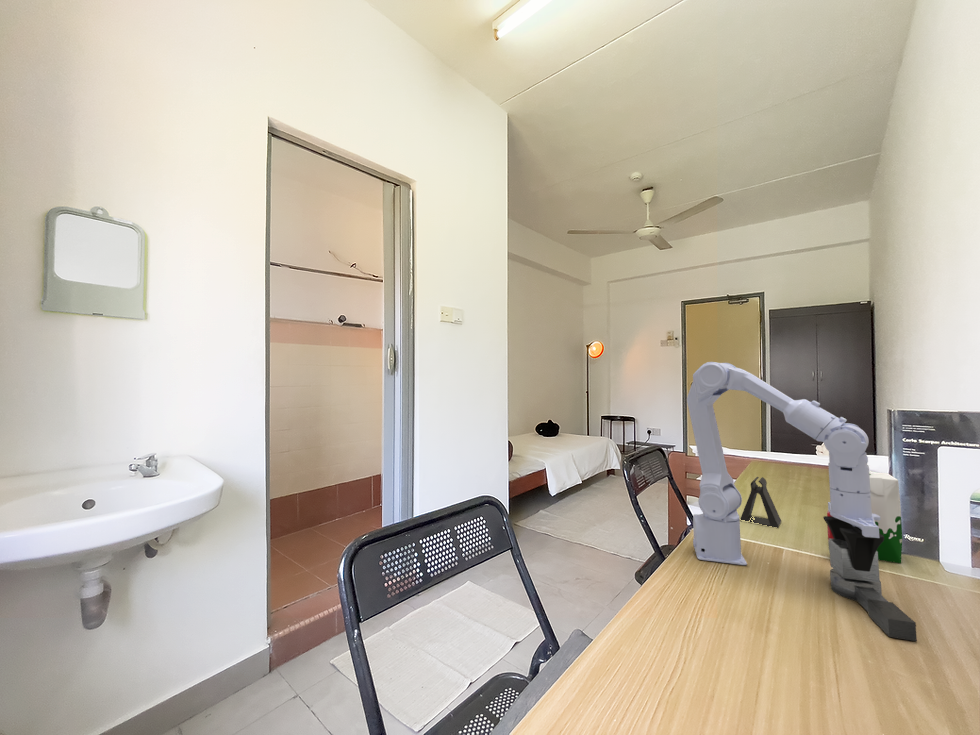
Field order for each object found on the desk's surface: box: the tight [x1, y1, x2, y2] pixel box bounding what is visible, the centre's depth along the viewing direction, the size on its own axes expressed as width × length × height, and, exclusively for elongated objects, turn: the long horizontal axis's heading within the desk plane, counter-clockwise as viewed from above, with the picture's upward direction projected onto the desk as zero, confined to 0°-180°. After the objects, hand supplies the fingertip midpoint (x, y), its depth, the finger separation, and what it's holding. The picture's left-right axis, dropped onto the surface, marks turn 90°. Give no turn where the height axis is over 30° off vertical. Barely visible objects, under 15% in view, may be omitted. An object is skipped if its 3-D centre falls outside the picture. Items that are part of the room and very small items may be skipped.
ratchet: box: [829, 568, 918, 642], centre depth 69 cm, size 18×7×6 cm, turn 159°
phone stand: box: [739, 476, 782, 529], centre depth 113 cm, size 9×6×12 cm, turn 48°
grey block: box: [828, 538, 881, 582], centre depth 74 cm, size 5×5×5 cm
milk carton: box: [869, 470, 903, 564], centre depth 91 cm, size 9×9×20 cm
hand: (853, 563), depth 74 cm, fingers closed on grey block, 5 cm apart
